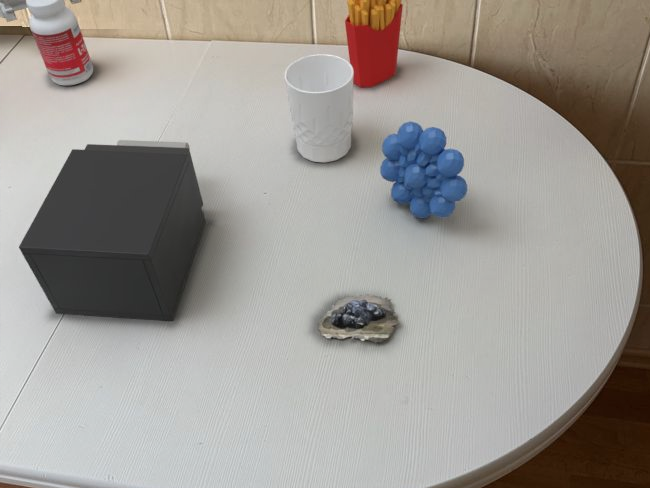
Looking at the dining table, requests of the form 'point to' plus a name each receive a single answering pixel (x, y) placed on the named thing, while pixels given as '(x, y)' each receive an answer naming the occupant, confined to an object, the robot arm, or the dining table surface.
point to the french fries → (373, 39)
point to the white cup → (321, 105)
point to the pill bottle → (59, 41)
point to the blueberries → (359, 319)
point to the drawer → (150, 150)
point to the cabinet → (117, 234)
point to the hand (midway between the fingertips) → (43, 6)
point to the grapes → (423, 170)
